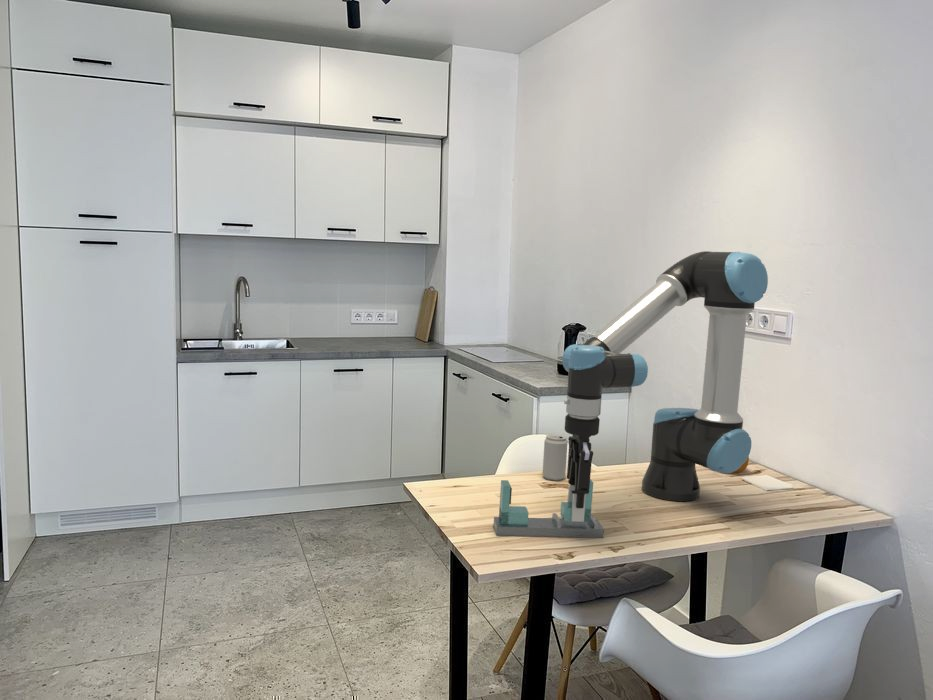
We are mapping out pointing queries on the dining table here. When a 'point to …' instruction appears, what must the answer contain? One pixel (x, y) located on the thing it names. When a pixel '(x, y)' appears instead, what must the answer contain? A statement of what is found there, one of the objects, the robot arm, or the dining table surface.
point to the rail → (538, 522)
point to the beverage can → (555, 457)
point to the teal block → (567, 507)
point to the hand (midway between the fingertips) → (575, 516)
